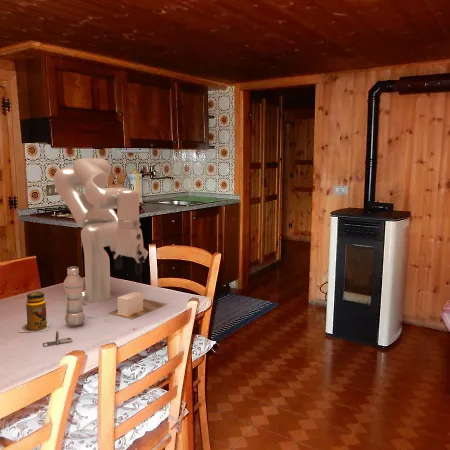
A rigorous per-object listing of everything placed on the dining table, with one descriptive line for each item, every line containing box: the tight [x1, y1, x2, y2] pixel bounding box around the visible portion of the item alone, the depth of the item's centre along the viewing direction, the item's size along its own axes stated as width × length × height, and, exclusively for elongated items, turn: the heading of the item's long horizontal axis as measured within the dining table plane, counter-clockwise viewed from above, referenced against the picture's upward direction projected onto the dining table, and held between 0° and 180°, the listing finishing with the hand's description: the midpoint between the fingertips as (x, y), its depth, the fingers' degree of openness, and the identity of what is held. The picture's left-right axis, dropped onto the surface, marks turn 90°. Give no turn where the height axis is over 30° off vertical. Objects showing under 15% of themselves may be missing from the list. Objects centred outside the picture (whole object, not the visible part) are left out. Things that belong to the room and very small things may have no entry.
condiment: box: [18, 291, 50, 333], centre depth 147 cm, size 7×8×12 cm
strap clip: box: [42, 329, 73, 348], centre depth 135 cm, size 8×3×4 cm, turn 117°
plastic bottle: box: [63, 266, 86, 327], centre depth 150 cm, size 6×7×20 cm
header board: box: [107, 298, 168, 321], centre depth 164 cm, size 20×12×4 cm, turn 149°
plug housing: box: [117, 291, 144, 316], centre depth 159 cm, size 8×4×6 cm, turn 149°
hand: (128, 271), depth 158 cm, fingers open, 9 cm apart
